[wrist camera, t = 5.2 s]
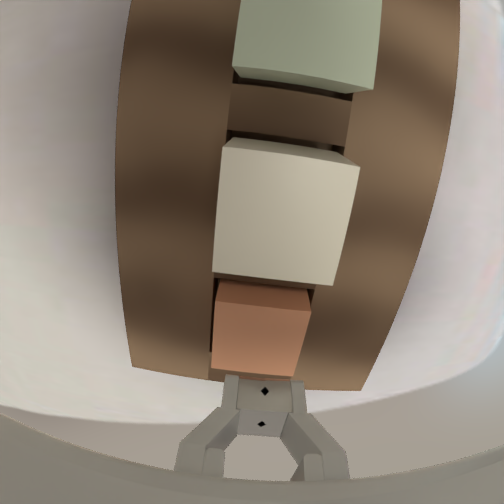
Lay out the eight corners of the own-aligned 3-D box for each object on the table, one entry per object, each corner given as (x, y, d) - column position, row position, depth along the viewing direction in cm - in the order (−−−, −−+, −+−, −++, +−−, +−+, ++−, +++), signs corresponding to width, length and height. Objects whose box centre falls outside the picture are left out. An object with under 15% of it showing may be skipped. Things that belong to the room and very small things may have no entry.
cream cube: (233, 137, 13) (222, 146, 10) (336, 151, 13) (360, 167, 10) (223, 233, 15) (212, 271, 11) (318, 245, 15) (332, 285, 11)
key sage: (253, -14, 10) (249, -50, 7) (355, 4, 10) (383, -24, 7) (240, 77, 12) (231, 65, 8) (345, 93, 12) (373, 89, 8)
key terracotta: (224, 264, 18) (215, 301, 14) (303, 273, 18) (311, 311, 14) (218, 326, 19) (211, 367, 16) (289, 334, 20) (293, 376, 16)
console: (162, -36, 11) (145, -57, 8) (433, 7, 11) (459, -5, 9) (145, 337, 21) (132, 366, 19) (352, 360, 22) (360, 390, 19)
